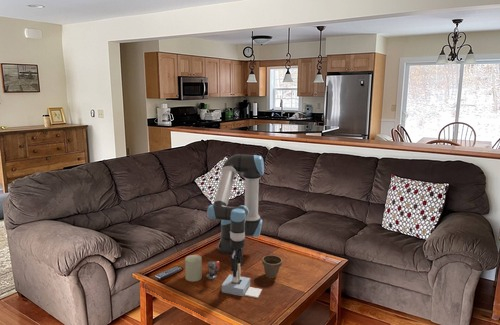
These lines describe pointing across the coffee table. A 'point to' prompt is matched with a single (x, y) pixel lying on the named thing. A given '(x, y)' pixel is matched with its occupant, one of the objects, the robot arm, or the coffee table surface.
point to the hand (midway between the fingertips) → (236, 279)
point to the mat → (253, 292)
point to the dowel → (238, 275)
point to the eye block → (236, 286)
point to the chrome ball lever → (214, 265)
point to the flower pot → (271, 265)
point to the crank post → (211, 274)
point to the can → (193, 267)
